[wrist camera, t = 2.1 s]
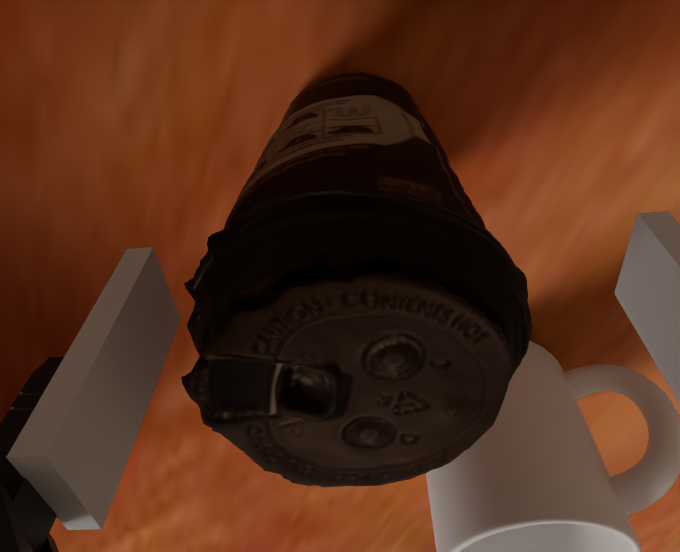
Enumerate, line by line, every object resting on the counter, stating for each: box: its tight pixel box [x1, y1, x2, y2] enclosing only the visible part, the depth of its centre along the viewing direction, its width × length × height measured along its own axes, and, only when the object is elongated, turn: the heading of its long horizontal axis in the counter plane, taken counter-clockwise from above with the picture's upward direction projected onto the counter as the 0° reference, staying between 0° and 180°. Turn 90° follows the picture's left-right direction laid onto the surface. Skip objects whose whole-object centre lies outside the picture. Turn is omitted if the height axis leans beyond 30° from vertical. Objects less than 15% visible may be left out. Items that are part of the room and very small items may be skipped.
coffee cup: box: [181, 72, 532, 487], centre depth 17 cm, size 9×8×13 cm
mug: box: [426, 341, 680, 552], centre depth 26 cm, size 12×8×10 cm
